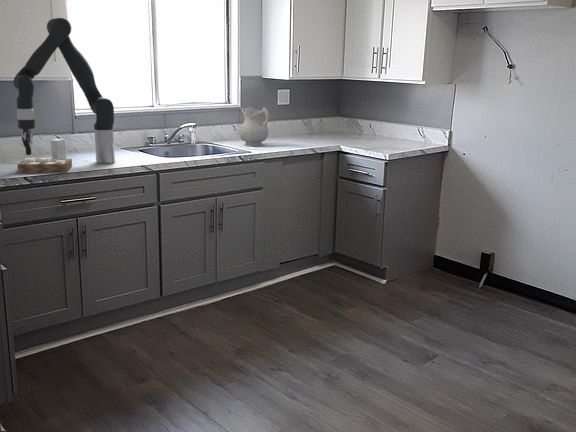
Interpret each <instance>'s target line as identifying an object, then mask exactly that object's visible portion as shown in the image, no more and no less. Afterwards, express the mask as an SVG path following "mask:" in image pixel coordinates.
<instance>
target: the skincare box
mask: <svg viewBox="0 0 576 432" xmlns="http://www.w3.org/2000/svg"><path fill="white" fill-rule="evenodd" d="M66 149H67V148H66V140H65V139H63V138H56V139H51V140H50V150H51V159H67V152H66Z"/></svg>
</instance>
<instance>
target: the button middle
mask: <svg viewBox="0 0 576 432" xmlns="http://www.w3.org/2000/svg"><path fill="white" fill-rule="evenodd" d="M39 159H40V162H50V159H51V157H41V158H39Z"/></svg>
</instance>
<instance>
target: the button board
mask: <svg viewBox="0 0 576 432" xmlns="http://www.w3.org/2000/svg"><path fill="white" fill-rule="evenodd" d="M40 159H41V158H35V162H25V161H24V159H23V160H22V161H20V162H19V163H18V164H16V165H17V173H18V174H43V173H44V174H46V173H47V174H49V173H50V174H51V173H54V174H55V173H56V174H57V173H61V174H62V173H68V172H69V171H71V169H72V167H73V160H72V159H73V158H66V159H52V158H50V162H40ZM57 160H66V161H65V162H56V161H57Z"/></svg>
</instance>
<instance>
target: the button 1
mask: <svg viewBox="0 0 576 432" xmlns="http://www.w3.org/2000/svg"><path fill="white" fill-rule="evenodd" d="M35 159H36V157H25V159H24V158H23V160H24V161H25V162H35Z"/></svg>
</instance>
